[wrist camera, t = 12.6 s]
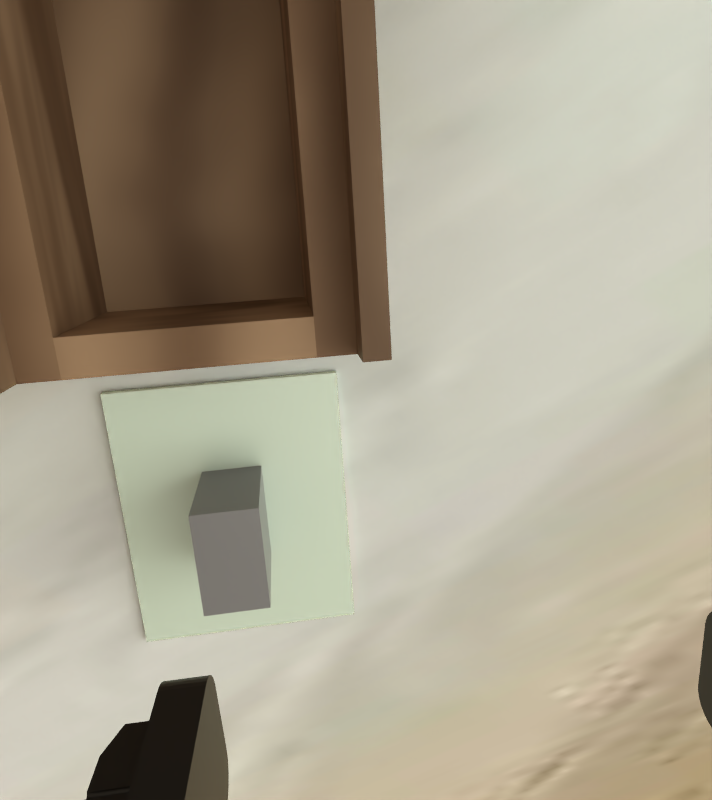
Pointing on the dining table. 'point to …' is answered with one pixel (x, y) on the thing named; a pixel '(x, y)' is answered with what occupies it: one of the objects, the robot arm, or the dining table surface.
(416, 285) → the dining table surface
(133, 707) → the dining table surface
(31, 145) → the box
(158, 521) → the lid
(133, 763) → the robot arm
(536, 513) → the dining table surface
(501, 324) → the dining table surface
